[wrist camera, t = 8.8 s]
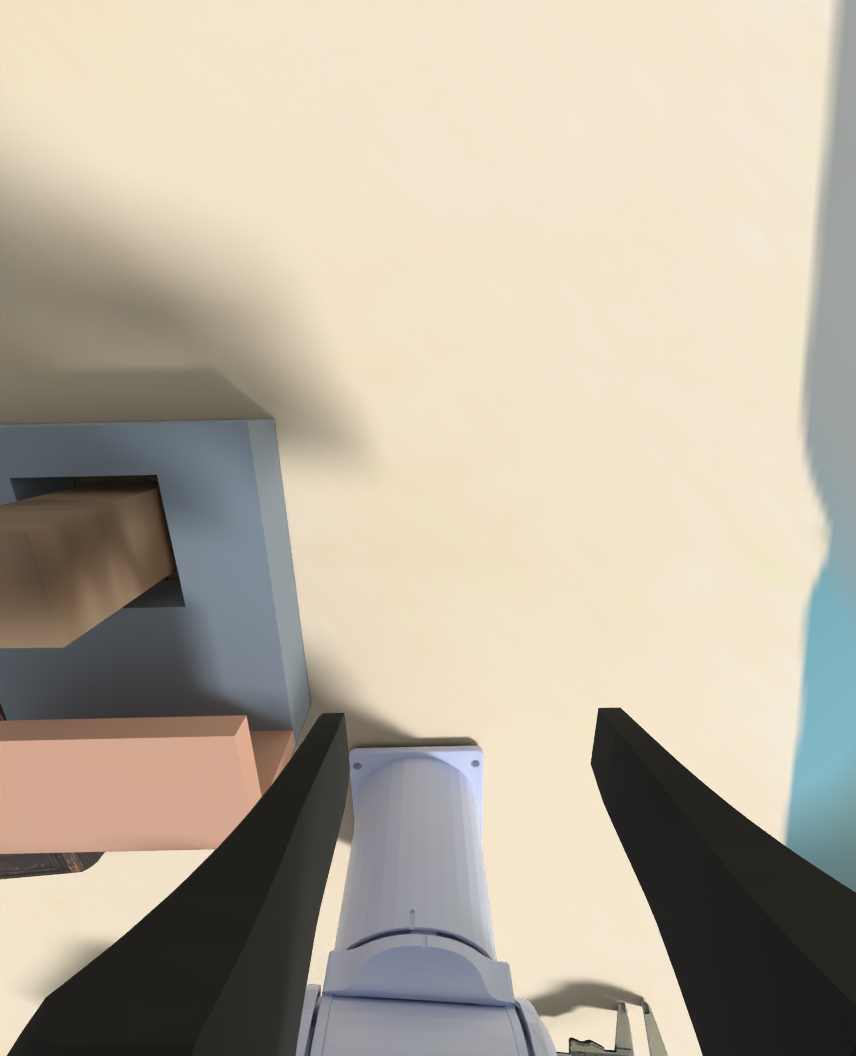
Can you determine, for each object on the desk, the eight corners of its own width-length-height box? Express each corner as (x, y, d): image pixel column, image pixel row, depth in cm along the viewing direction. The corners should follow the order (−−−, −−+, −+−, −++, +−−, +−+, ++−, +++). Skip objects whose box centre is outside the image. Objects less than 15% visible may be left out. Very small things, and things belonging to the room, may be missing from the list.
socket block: (310, 704, 24) (295, 746, 21) (68, 709, 24) (20, 752, 21) (274, 418, 19) (247, 422, 16) (-30, 424, 19) (-110, 429, 16)
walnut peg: (194, 557, 21) (63, 647, 14) (115, 558, 21) (-59, 649, 14) (179, 480, 20) (27, 531, 12) (96, 481, 20) (-107, 532, 12)
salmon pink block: (295, 746, 21) (257, 848, 16) (20, 752, 21) (-99, 856, 16) (281, 652, 19) (234, 736, 15) (-18, 659, 19) (-162, 744, 15)
